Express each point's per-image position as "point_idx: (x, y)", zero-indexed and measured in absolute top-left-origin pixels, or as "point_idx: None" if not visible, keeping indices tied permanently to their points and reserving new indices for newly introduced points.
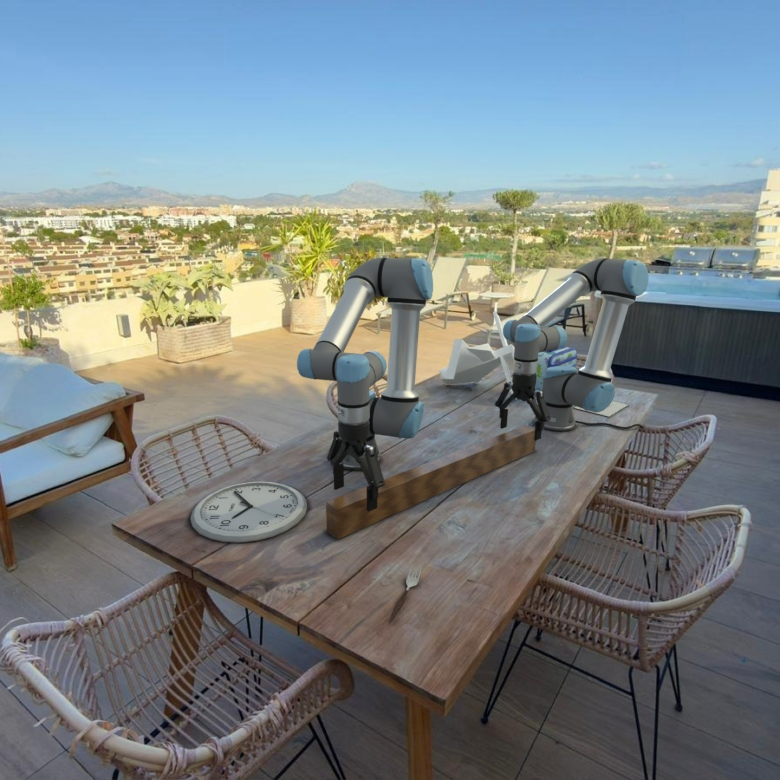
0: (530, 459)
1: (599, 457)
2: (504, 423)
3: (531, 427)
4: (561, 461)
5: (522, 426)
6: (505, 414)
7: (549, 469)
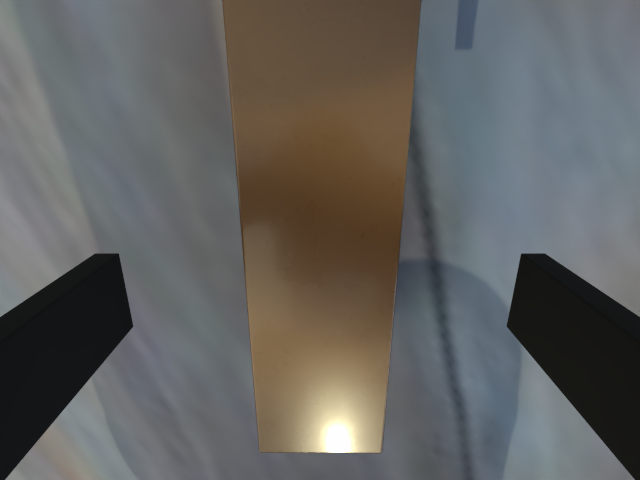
0: (222, 214)
1: (55, 475)
2: (542, 313)
3: (307, 439)
4: None
5: (378, 406)
6: (626, 404)
7: (56, 182)
